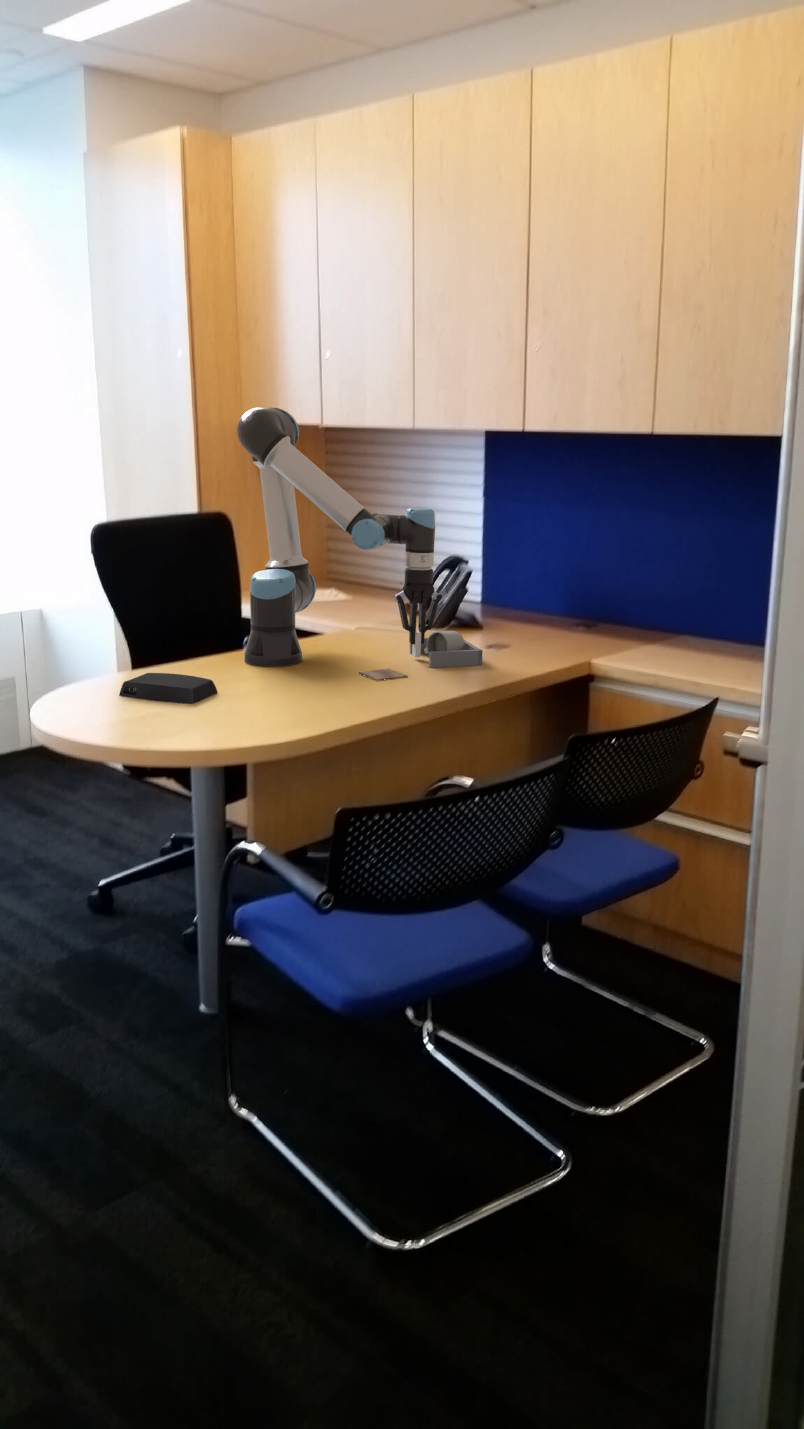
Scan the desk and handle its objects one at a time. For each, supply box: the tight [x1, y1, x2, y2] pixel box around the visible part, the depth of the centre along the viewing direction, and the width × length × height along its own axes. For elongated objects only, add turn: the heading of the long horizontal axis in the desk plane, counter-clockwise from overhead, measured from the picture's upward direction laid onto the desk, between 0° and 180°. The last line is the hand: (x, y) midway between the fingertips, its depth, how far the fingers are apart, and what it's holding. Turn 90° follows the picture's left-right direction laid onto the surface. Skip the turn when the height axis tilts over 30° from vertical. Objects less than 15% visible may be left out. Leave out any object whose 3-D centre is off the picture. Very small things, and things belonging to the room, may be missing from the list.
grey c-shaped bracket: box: [409, 637, 483, 668], centre depth 308 cm, size 14×19×4 cm
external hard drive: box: [119, 672, 219, 705], centre depth 264 cm, size 13×19×4 cm
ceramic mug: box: [424, 630, 465, 656], centre depth 310 cm, size 11×8×8 cm
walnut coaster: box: [357, 668, 408, 681], centre depth 288 cm, size 9×9×1 cm
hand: (416, 655), depth 306 cm, fingers closed
